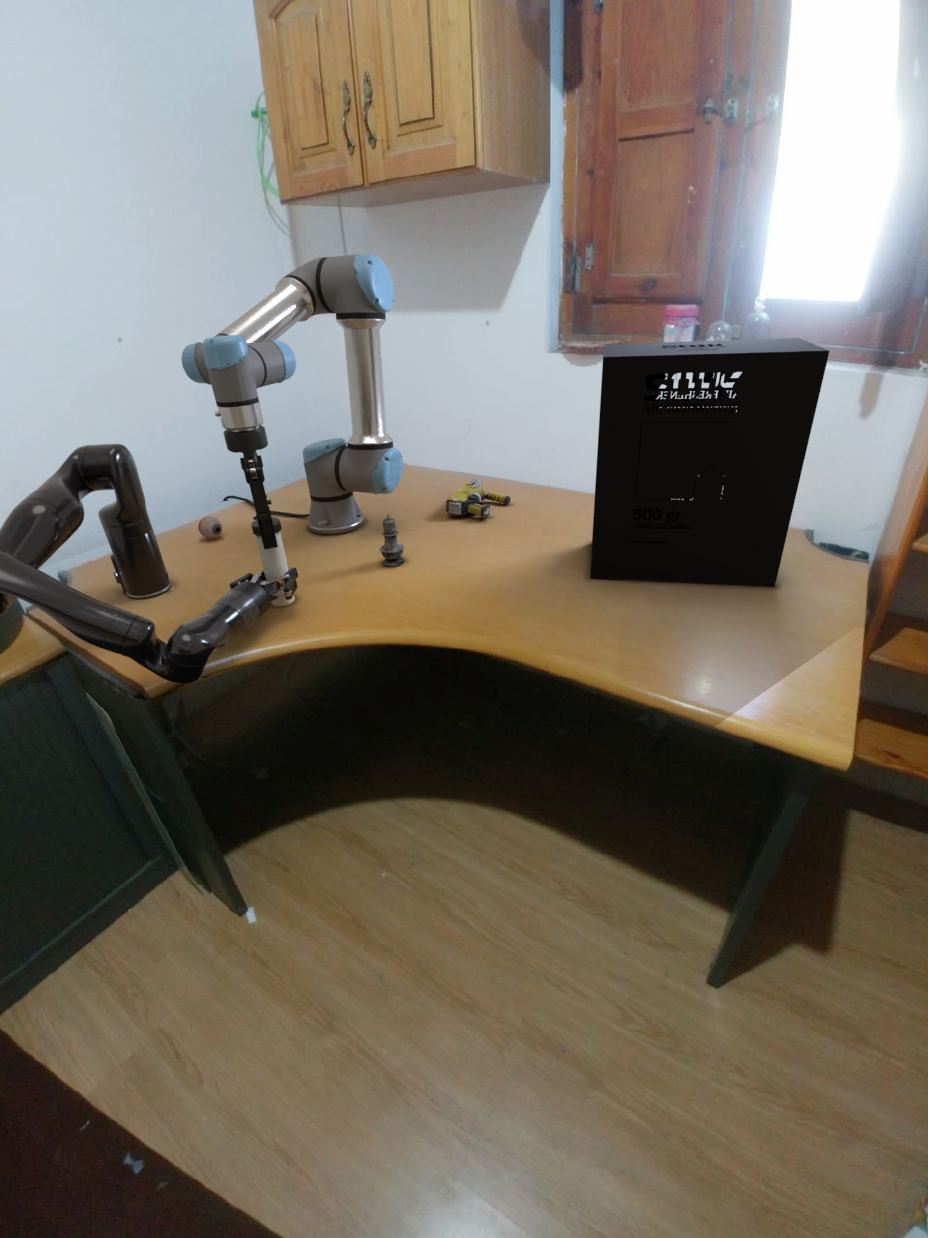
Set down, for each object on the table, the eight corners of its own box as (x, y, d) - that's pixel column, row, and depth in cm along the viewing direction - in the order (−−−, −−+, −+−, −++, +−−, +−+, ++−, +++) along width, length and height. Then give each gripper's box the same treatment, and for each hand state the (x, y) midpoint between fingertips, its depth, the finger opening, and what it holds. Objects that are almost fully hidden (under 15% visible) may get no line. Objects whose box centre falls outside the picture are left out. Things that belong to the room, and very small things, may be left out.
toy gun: (518, 484, 183) (472, 477, 187) (496, 507, 163) (444, 499, 167) (517, 499, 185) (471, 492, 189) (494, 524, 165) (443, 515, 169)
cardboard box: (755, 547, 142) (798, 337, 120) (774, 586, 125) (829, 350, 102) (592, 542, 150) (603, 344, 127) (589, 578, 133) (603, 356, 110)
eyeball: (211, 543, 162) (206, 522, 159) (197, 539, 165) (190, 519, 162) (230, 535, 166) (224, 515, 163) (215, 532, 169) (209, 511, 166)
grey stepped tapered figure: (401, 567, 143) (396, 519, 137) (378, 566, 144) (371, 518, 138) (408, 556, 148) (403, 510, 142) (385, 556, 149) (379, 509, 143)
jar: (284, 607, 128) (267, 531, 120) (266, 604, 130) (248, 529, 121) (299, 597, 132) (283, 523, 123) (281, 594, 134) (264, 520, 125)
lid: (284, 524, 126) (282, 516, 125) (278, 535, 121) (276, 526, 120) (257, 526, 126) (254, 518, 125) (250, 537, 121) (247, 528, 120)
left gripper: (213, 622, 120) (258, 583, 134) (277, 628, 116) (317, 588, 131) (203, 588, 116) (250, 552, 130) (269, 593, 113) (310, 556, 127)
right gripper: (222, 420, 119) (249, 529, 131) (222, 440, 104) (253, 562, 116) (261, 415, 121) (284, 524, 133) (267, 434, 106) (292, 555, 118)
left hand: (283, 570), depth 130 cm, fingers closed on jar, 5 cm apart
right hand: (270, 541), depth 124 cm, fingers closed on lid, 5 cm apart
